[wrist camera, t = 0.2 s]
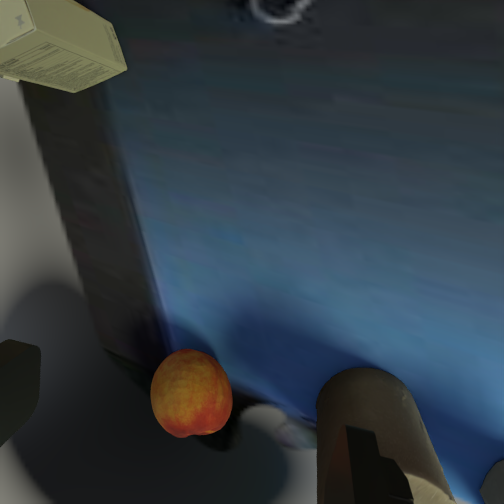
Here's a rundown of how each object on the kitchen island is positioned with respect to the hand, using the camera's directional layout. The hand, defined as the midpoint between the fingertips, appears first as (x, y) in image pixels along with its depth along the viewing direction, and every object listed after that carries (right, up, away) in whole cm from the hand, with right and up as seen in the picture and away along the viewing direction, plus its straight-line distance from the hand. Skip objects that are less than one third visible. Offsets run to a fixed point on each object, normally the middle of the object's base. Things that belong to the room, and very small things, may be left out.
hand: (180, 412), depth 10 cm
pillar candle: (+13, -12, +30) cm, 35 cm away
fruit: (-3, -9, +32) cm, 33 cm away
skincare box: (-13, +22, +27) cm, 37 cm away
